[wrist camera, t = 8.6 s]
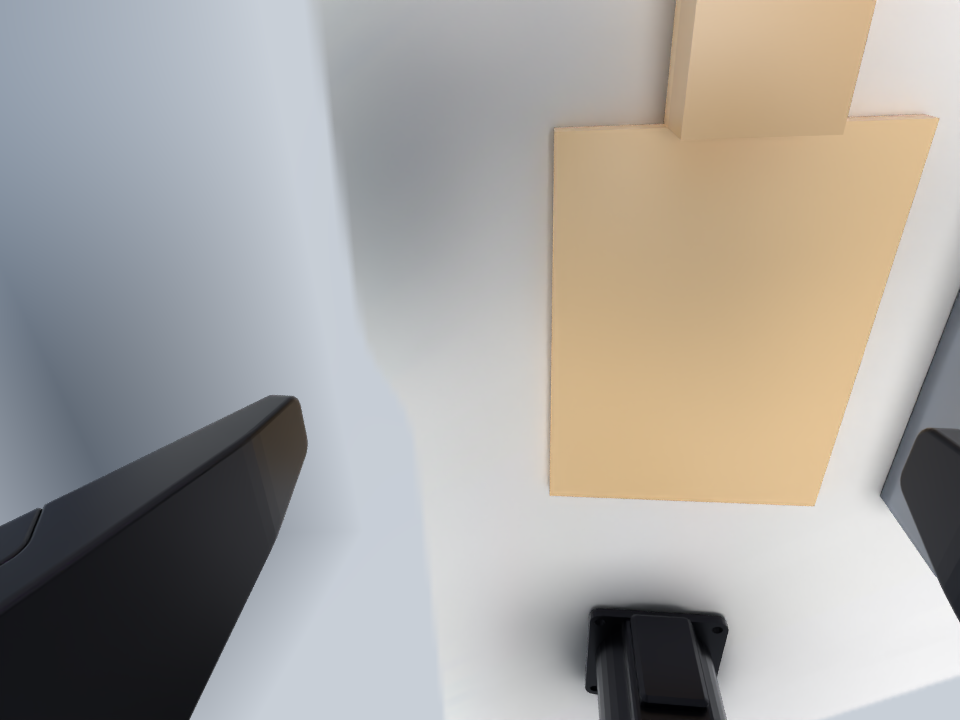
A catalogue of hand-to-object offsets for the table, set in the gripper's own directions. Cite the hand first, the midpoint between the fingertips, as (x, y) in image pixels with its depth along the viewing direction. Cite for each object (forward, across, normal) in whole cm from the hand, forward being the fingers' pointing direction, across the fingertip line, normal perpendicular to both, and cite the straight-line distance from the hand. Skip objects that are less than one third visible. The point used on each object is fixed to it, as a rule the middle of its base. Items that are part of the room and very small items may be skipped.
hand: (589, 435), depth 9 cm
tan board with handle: (+12, -5, +2) cm, 13 cm away
